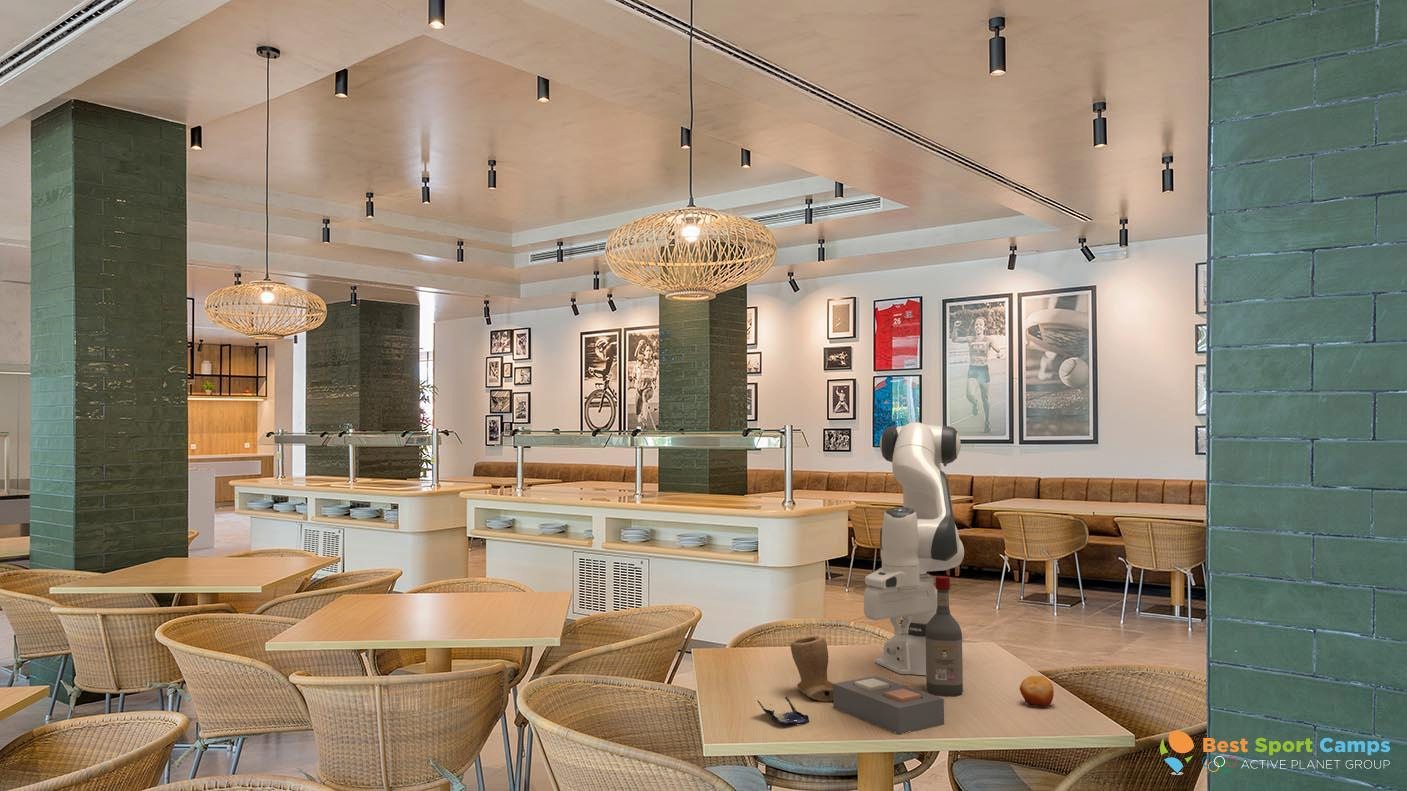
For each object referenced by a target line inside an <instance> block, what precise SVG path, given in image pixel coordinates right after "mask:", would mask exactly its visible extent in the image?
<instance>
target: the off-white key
mask: <svg viewBox="0 0 1407 791" xmlns="http://www.w3.org/2000/svg"><path fill="white" fill-rule="evenodd" d="M855 686H858V687H860V688H863V689H866V690H869V691H873V690H878V689H884V688H889V684H888V683H885V682H882V681H879V680H876V679H874V678H872V679H867V680H862V681H856V682H855Z"/></svg>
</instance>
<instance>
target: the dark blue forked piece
mask: <svg viewBox="0 0 1407 791" xmlns="http://www.w3.org/2000/svg"><path fill="white" fill-rule="evenodd" d="M784 699H785V701H786V702H788V704H789V707H790V708H791V711H786V712H783V713H775V710H774V709H773V710H771V709H766V708H765V707H764V706H763V705H762V703H761V702H760V701H759V700H758V699H757V700H756V701H757V703H758V704H759V705H760V707H761V709H762V711H763V712H764V713H765V714H766V716H768V717H769V719H771V721H775V722H777V723H778V722H779V724H780V725H781V726H785V725H787V724H793V725H794V726H798V725H797V724H802V725H804V724H806V723H809V722H810V717H809V715H808V714H803V713H802V712H800V711H798V710H796V708H795V706H794V704H793V703H792V701H791V700H790V698H789V696H788V695H785V697H784ZM770 706H772V704H771V703H770ZM776 715H777V716H779V717H780V716H781V717H780V718H782V717H783V718H782V720H780V719H779V718H778V717H777V716H776ZM786 719H789V720H788V721H787V720H786ZM794 720H797V721H794Z"/></svg>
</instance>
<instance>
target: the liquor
mask: <svg viewBox="0 0 1407 791" xmlns="http://www.w3.org/2000/svg"><path fill="white" fill-rule="evenodd" d="M935 587H936V589H937V610H936V614H935V615H934V616H933V617H932V618H931V620H930V621H929V622H928V623H927V625H926V675H925V680H926V690H927V693H929V694H932V695H935V696H942V697H944V696H945V697H957V696H961V695H962V694H963V691H964V684H963V683H964V682H963V681H964V680H963V674H964V673H963V633H962V629H961V627H960V623H958V621H957V620H956V619H955V618H954V617H953V616H952V614H951V611H950V610H951V609H950V590H951V578H950V577H949V576H945V575H944V576H943V575H941V576H935Z"/></svg>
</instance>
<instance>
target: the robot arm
mask: <svg viewBox="0 0 1407 791" xmlns="http://www.w3.org/2000/svg"><path fill="white" fill-rule="evenodd" d="M961 444H962V443H961V438H960V436H959V433H958V430H956V428H955V427H954V426H953V427H952V426H949V425H943V426H942V425H935V424H926V423H925V424H924V423H922V422H917V421H915V422H914V421H913V422H908V423H907V424H905V425H901V426H899V425H891V426H888V427H886V428H884V429H883V431H882V433H881V436H880V439H879V449H880V453H881V456H882V457H883V458H884V460H886V462H890V463H892V465H891V466H892V474H893V477H894V478H895V480H896V481H897V482H898V483H899V485H901V486H902V487H903V488H902V490H903V492H902V497H903V498H902V500H903V501H902V503H903V504H902V506H896V507H895V506H894V507H889V508H888V509H886V510H885V511H884V513H883V519H882V526H881V527H880V529H879V548H880V560H881V567H880V568H878V569H877V570H875V571H873V572H871V573H870V574H868V575H866V576H865V577H864V578H865V579H864V583H865V585H866V586H867V587H866V588H865V590H864V594H863V614H864V616H865V617H866V618H867V619H870V620H873V621H879V620H885V619H889V620H890V623H891V625H892V626H893V633H894V635H893V636H892V637H890V638H889V639H887V640H886V641H885V642H884V645H883V652H882V655H881V656H879V657H876V658H875V660H874V662H875V663H876V664H878V665H880V666H882V667H885V668H886V669H888V670H891V671H893V672H895V673H897V674H900V675H917V676H918V675H919V676H926V625H927V623H928V622H929V621H930V620H931V618H932V617H933V616H934V615H935V614H936V610H937V589H936V586H935V584H934V583H935V582H934V578H933V576H932V575H931V574H929V572H939V571H947V570H950V569H954V568H956V567H958V566H960V565H961V564H962V562H963V560H964V556H965V548H964V544H963V542H962V540H961V539H960V534H959V531H958V528H957V526H956V523H955V517H954V510H953V508H954V507H953V503H952V496H951V490H950V486H949V481H948V478H947V475H946V473H945V472H944V471H942V465H941V464H943V467H947V465H949V464H952V463H953V462H955V461H956V460H957V459H958V456H959V454H960V452H961V446H962V445H961ZM927 572H928V573H927Z"/></svg>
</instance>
